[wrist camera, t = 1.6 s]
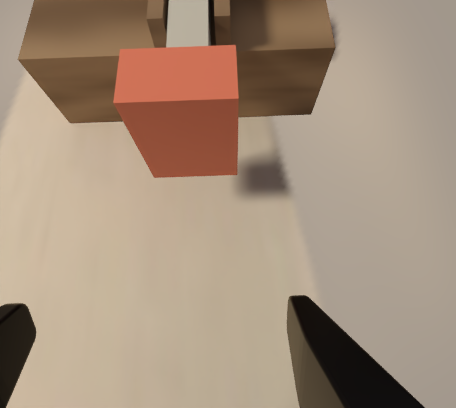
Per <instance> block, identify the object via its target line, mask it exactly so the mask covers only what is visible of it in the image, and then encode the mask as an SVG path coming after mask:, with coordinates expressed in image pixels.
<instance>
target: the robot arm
mask: <svg viewBox="0 0 456 408" xmlns="http://www.w3.org/2000/svg"><path fill="white" fill-rule="evenodd" d="M287 333H288V340H289V346H290V353H291V359H292V366H293V372H294V378H295V385H296V391H297V396H298V401H299V405H300V408H424V407H423V405H421V404H420V403H419V402H418V401H417V400H416V399H415V398H414V397H413V396H412V395H411V394H410V393H409V392H408V391H407V390H406V389H405V388H404V387H403V386H401V385H400V384H399V383H398V382H397V381H396V380H395V379H394V378H393V377H392V376H391V375H390V374H389V373H387V371H386V370H384V368H382V367H381V366H380V365H379V364H378V363H377V362H376V361H375V360H374V359H373V358H372V357H371V356H370V355H369V354H368V353H367V352H366V351H365V350H363V348H361V347H360V346H359V345H358V344H357V343H356V342H355V341H354V340H353V339H352V338H351V337H350V336H349V335H348V334H347V333H346V332H344V330H343V329H341V328H340V327H339V326H338V325H337V324H336V323H335V322H334V321H333V320H332V319H331V318H330V317H329V316H328V315H327V314H326V313H325V312H324V311H323V310H321V309H320V308H319V307H318V306H317V305H316V304H315V303H314V302H313V301H312V300H311V299H310V298H309V297H307V296H305V295H298V296H290V297H289V299H288V311H287ZM35 338H36V328H35V325H34V322H33V320H32V317H31V314H30V312H29V309H28V307H27V306H26V305H25V304H23V303H13V304H5V305H3V306H1V307H0V408H6V406H7V404H8V401H9V399H10V397H11V395H12V393H13V390H14V388H15V385H16V383H17V381H18V378H19V376H20V374H21V371H22V369H23V367H24V364H25V362H26V360H27V357H28V355H29V353H30V350H31V348H32V346H33V343H34V341H35Z"/></svg>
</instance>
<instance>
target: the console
mask: <svg viewBox="0 0 456 408" xmlns="http://www.w3.org/2000/svg"><path fill="white" fill-rule="evenodd" d="M168 6H169V0H34V3H33V7H32V10H31V14H30V18H29V21H28V25H27V28H26V32H25V36H24V39H23V43H22V46H21V50H20V54H19V57H18V60H19V61H20V63H21V64H22V65H23V66H24V68H25V69H26V70H27V71H28V72H29V74H30V75H31V76H32V77H33V79H34V80H35V81H36V82H37V83H38V85H39V86H40V87H41V88H42V90H43V91H44V92H45V93H46V94H47V96H48V97H49V98H50V99H51V100H52V102H53V103H54V104H55V105H56V107H57V108H58V109H59V110H60V111H61V113H62V114H63V115H64V116H65V118H66V119H67V120H68V121H69V122H70V123H81V122H109V121H123V120H122V118H121V116H120V114H119V113H118V111H117V109H116V107H115V105H114V103H113V101H114V93H115V85H116V77H117V69H118V61H119V53H120V49H139V48H166V41H167V24H168ZM210 10H211V46H219V45H236V57H237V77H238V97H239V102H238V117H250V116H278V115H304V114H311V113H312V110H313V107H314V105H315V102H316V99H317V97H318V94H319V91H320V88H321V86H322V83H323V80H324V77H325V75H326V72H327V69H328V67H329V64H330V61H331V58H332V56H333V53H334V50H335V43H334V38H333V33H332V28H331V23H330V18H329V13H328V8H327V3H326V0H210Z"/></svg>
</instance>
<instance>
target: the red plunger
mask: <svg viewBox="0 0 456 408" xmlns="http://www.w3.org/2000/svg"><path fill="white" fill-rule="evenodd" d="M238 102H239V97H238V77H237V57H236V45H219V46H211V10H210V0H169V6H168V24H167V41H166V48H139V49H120V53H119V61H118V69H117V77H116V85H115V93H114V101H113V103H114V105H115V107H116V109H117V111H118V113H119V114H120V116H121V118H122V120H123V122H124V124H125V125H126V127H127V129H128V131H129V133H130V134H131V136H132V138H133V140H134V142H135V144H136V145H137V147H138V149H139V151H140V153H141V154H142V156H143V158H144V160H145V162H146V164H147V165H148V167H149V169H150V171H151V173H152V174H153V176H154V178H158V177H187V176H216V175H237V155H238Z"/></svg>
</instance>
